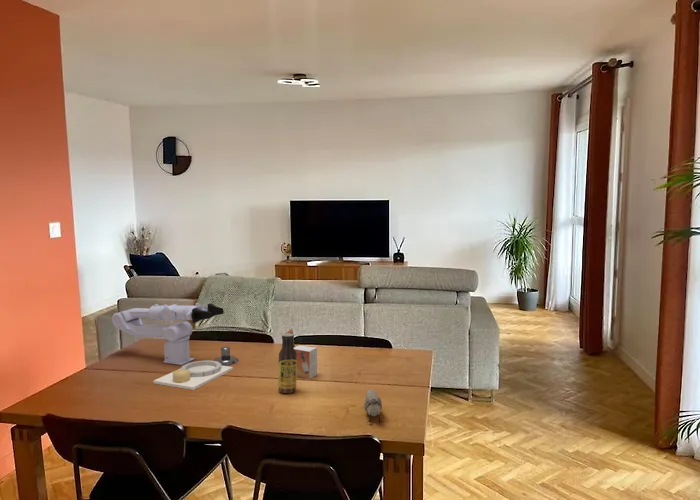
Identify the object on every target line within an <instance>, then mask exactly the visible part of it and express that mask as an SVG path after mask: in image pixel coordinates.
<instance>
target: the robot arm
mask: <svg viewBox="0 0 700 500" xmlns="http://www.w3.org/2000/svg"><path fill="white" fill-rule="evenodd" d="M224 312H225V310H224V308H222V307H219V306H216V305H215V304H214V303H212V302H211V303H207V306H205V305H201V303H200V302H196V303H195V305H179V304H175V303H172V304H171V305H168V304H166V303H165V304H163V305H159V304H157V303H156V304H153V305H151V306H150V307H149V308H144V307H143V308H142V307H140V308H139V307H135V308H134V307H133V308H129V309H126V310H123V311H122V310H121V311H120V312H119V311H118V312H114V313H113V315H112V316H111V322H112V324H113V326H114V327H115V329H116V330H117V331H118V330H119V331H123V332H124V333H127V334H128V335H130V336H131V337H139V338H140V337H146V338H147V337H149V338H163V340H166V341H165V342H164V346H163V350H164V351H163V352H164V354H163V355H164V360H163V361H162V362H163V363H165V364H172V365H180V366H183V365H185V364H188V363H190V362H193V361H194V360H195V358H194V357H190V342H189V340H190V336H191V335H192V333H193V326H192V324H191V323H190V322H189V321H192V323H194V324H195V323H198V322H200V321H203V320H208V319H211V318H213V317H215V316H220V315H223V314H224ZM141 318H149V319H151V320H154V321H157V320H160V321H161V320H163V321H164V320H165V321H166V322H170V321H172V320H174V321H175V320H178V321H181V322H179V323H172V324H144V323H143V321H142V319H141Z"/></svg>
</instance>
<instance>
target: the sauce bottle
mask: <svg viewBox="0 0 700 500" xmlns="http://www.w3.org/2000/svg"><path fill="white" fill-rule="evenodd" d="M285 333H286V332H285ZM285 333H283V334H281V340H282V341H281V349H280V351H279V352H278V362H277V363H278V371H277V372H278V375H277V376H278V378H277V383H278V384H277V386H278V392H279V393H282V394H291V393H295V392H296V390H297V377H298V376H297V357H296V351H295V349H294V348H293V339H294V338H295V337H294V336H295V334H294V333H293V334H290V333H286V334H285ZM294 340H295V339H294Z"/></svg>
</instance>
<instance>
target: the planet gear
mask: <svg viewBox="0 0 700 500" xmlns="http://www.w3.org/2000/svg"><path fill="white" fill-rule="evenodd" d="M213 361H218V362H219V363H221V365H222V366H229V367H230V365H236V364H237V363H238V361H239V358H238V357H235V355H231V347H230V346H229V345H228V346H221V347H220V356H219V357H215V358H214V360H213Z"/></svg>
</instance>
